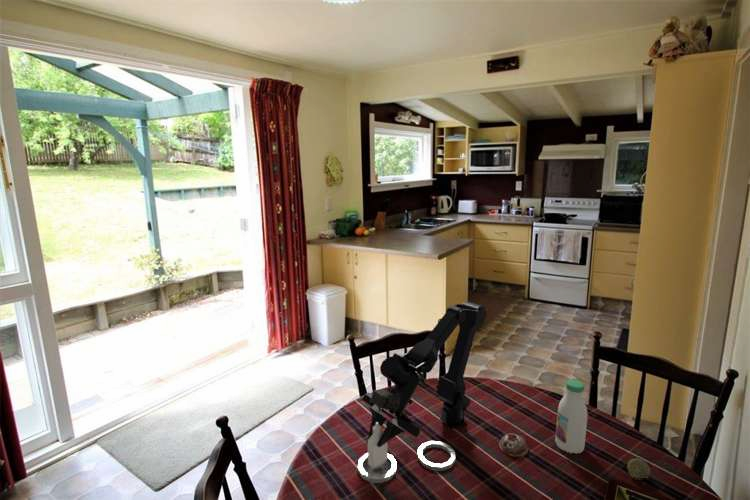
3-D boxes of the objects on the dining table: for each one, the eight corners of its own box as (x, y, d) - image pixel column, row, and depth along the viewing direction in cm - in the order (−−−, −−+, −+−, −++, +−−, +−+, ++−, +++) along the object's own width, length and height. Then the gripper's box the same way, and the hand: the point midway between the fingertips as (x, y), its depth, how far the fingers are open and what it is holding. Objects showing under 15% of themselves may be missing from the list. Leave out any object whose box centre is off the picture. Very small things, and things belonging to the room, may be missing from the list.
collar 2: (441, 440, 120) (442, 437, 120) (462, 463, 110) (462, 459, 110) (411, 450, 116) (411, 447, 115) (430, 475, 106) (430, 471, 106)
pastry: (497, 453, 115) (498, 437, 114) (500, 437, 121) (501, 422, 120) (527, 460, 112) (528, 444, 111) (528, 444, 118) (529, 429, 117)
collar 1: (386, 450, 116) (386, 447, 116) (403, 475, 106) (403, 471, 106) (352, 461, 112) (352, 457, 112) (367, 487, 102) (366, 483, 102)
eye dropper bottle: (389, 466, 107) (389, 426, 105) (369, 469, 106) (368, 429, 104) (386, 454, 112) (385, 416, 109) (366, 458, 110) (365, 419, 108)
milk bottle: (583, 441, 119) (589, 379, 115) (584, 457, 112) (591, 393, 108) (555, 434, 122) (560, 374, 118) (554, 450, 115) (560, 386, 111)
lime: (651, 480, 104) (654, 464, 103) (637, 485, 102) (639, 468, 101) (636, 468, 108) (638, 452, 107) (622, 472, 107) (624, 456, 106)
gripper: (365, 366, 114) (335, 416, 109) (412, 393, 100) (379, 452, 95) (387, 381, 120) (359, 429, 116) (433, 409, 106) (403, 465, 101)
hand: (373, 443), depth 107 cm, fingers closed on eye dropper bottle, 3 cm apart
